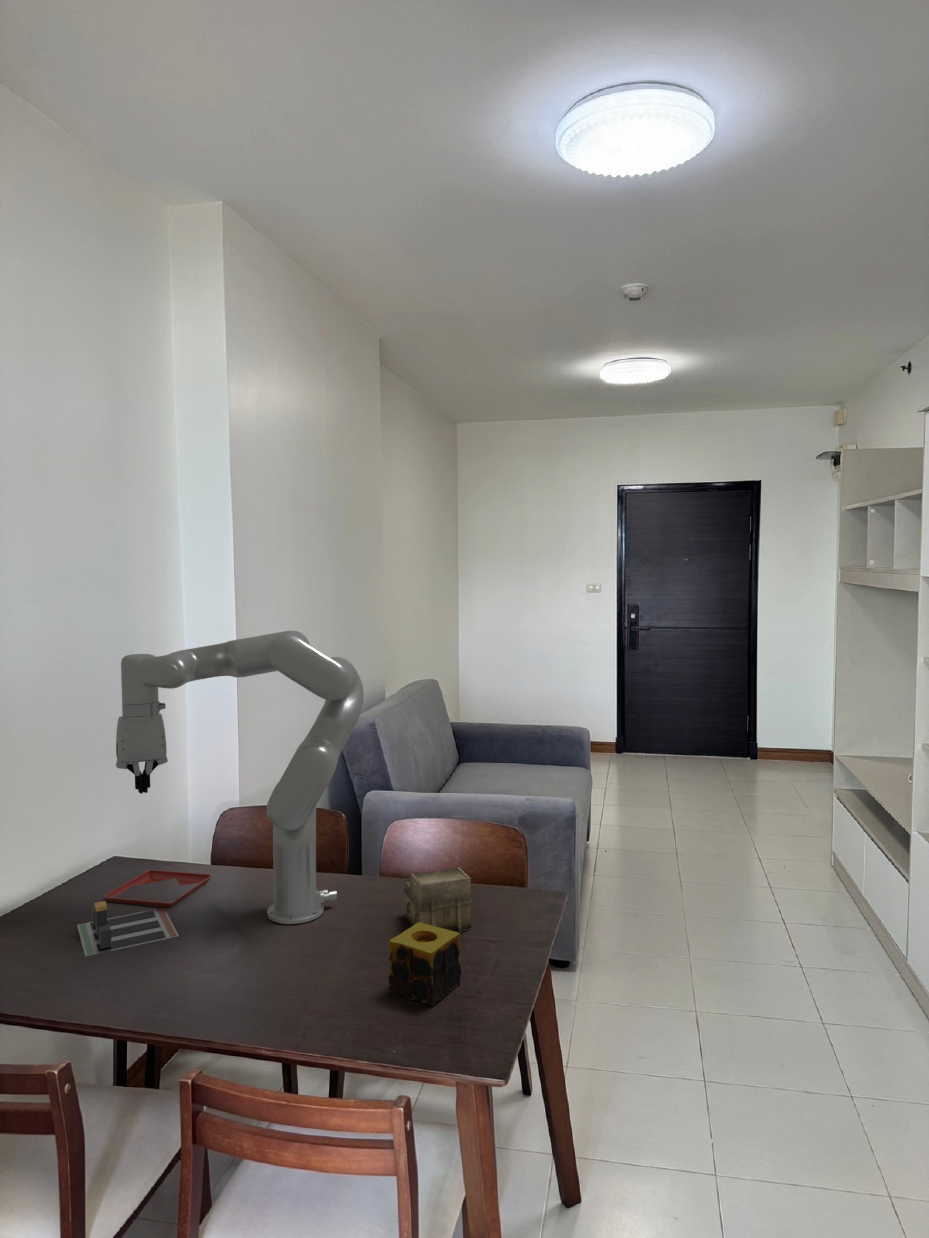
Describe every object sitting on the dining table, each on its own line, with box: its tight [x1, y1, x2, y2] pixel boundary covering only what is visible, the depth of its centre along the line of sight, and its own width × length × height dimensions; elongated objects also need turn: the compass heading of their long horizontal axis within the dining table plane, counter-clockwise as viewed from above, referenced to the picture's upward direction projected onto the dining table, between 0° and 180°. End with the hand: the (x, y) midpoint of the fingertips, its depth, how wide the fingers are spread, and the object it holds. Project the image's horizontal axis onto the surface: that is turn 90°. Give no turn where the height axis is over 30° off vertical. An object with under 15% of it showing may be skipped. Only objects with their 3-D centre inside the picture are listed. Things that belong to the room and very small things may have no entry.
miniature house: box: [402, 866, 474, 935], centre depth 183 cm, size 15×14×11 cm
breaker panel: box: [76, 907, 180, 957], centre depth 176 cm, size 18×17×2 cm
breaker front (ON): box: [99, 924, 112, 949], centre depth 168 cm, size 2×3×4 cm, turn 30°
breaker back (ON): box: [91, 905, 95, 927], centre depth 179 cm, size 2×3×4 cm, turn 30°
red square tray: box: [103, 869, 213, 908], centre depth 198 cm, size 18×18×3 cm
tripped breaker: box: [93, 900, 108, 937], centre depth 173 cm, size 2×3×6 cm
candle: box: [388, 922, 462, 1007], centre depth 154 cm, size 10×10×10 cm
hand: (142, 791), depth 183 cm, fingers closed
